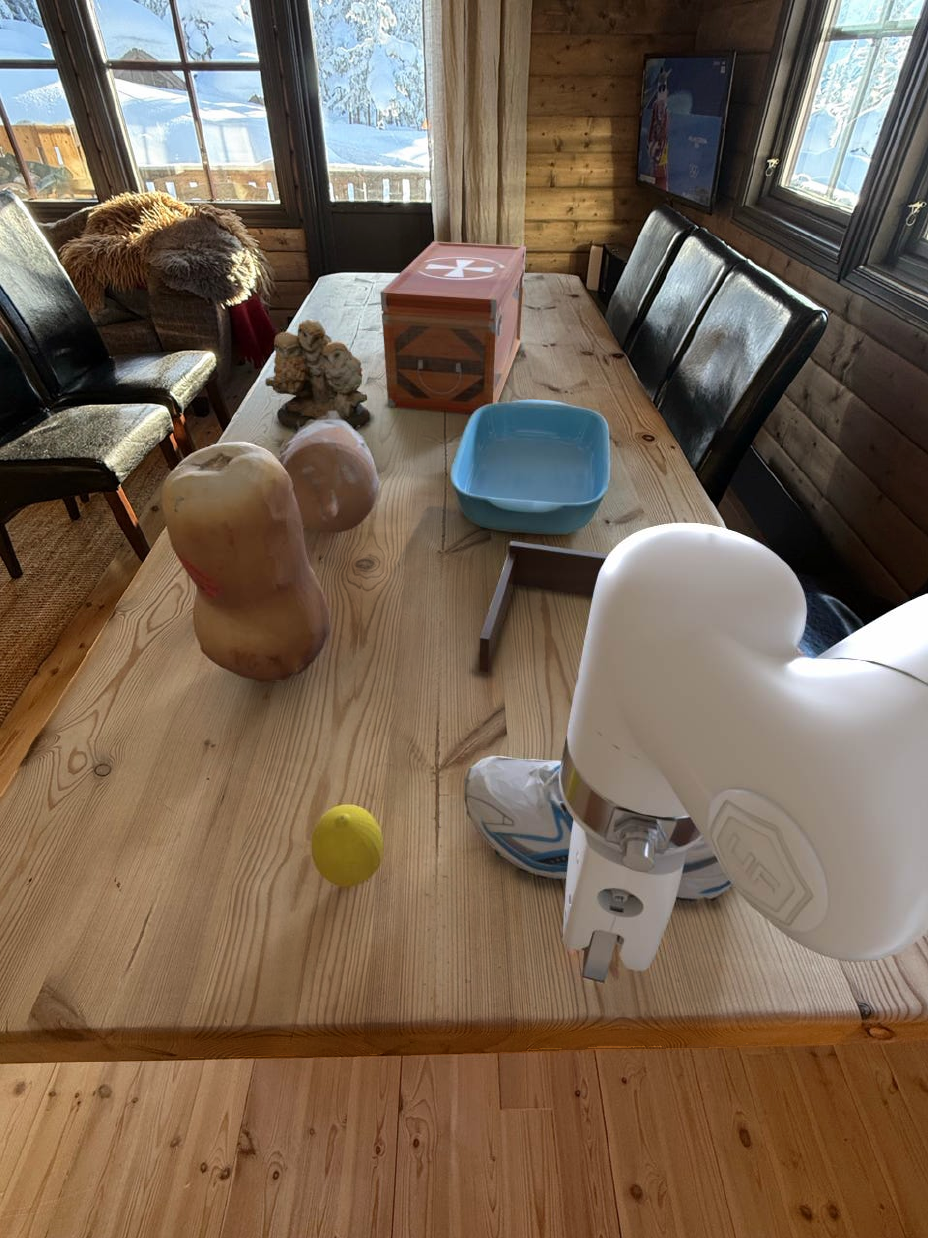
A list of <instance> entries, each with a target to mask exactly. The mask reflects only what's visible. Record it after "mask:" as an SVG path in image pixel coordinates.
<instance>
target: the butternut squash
mask: <svg viewBox="0 0 928 1238" xmlns="http://www.w3.org/2000/svg"><path fill="white" fill-rule="evenodd" d="M161 508H162V513H163V516H164V522H165V526H166V529H167V533H168V537H169V540H170V545H171V548H172V549H173V552H174V553H175V555H176V557H177V559H178V560H179V562H180V564H181V565H182V567H183V569H184V570H185V571H186V573H187V574H188V576H189V577H190V579H191V581H192V582H193V583H194V585H195V587H196V592H195V595H194V602H193V609H192V621H193V629H194V633H195V636H196V639H197V641H198V644H199V647H200V651H201V653H203V655H205V657H207V658H208V659H209V660H210V661H211V662H213V663H214V664H215V665H217V666H218V667H219V668H221V669H224V670H227V671H228V672H230V673H232V674H234V675H236V676H239V677H241V678H244V679H248V680H253V681H257V682H259V683H264V682H274V681H278V682H284V681H286V680H287V679H288V678H291V677H292V676H295V675H301V674H302V673H303V672H304V671H305V670H307V669H308V668H309V667H310V665H312V663H313V662H314V661H315V660H316V659H317V657H318V656H319V654H320V653H321V652H322V650H323V649H324V647H325V645H326V642H327V639H328V637H329V635H330V633H331V631H330V609H329V606H328V602H327V599H326V596H325V592H324V589H323V588H322V586H321V584H320V582H319V580H318V578H317V576H316V573H315V571H314V569H313V568H312V566H311V564H310V561H309V559H308V556H307V550H306V544H305V535H304V527H303V526H302V519H301V515H300V512H299V508H298V505H297V501H296V498H295V495H294V492H293V484H292V481H291V478H290V476H289V474H288V473H287V472H286V470H285V469H284V468H283V466H282V465H281V463H280V462H279V461H278V458H277V457H276V456H275V455H274V454H273V453H272V452H270V451H269V450H268V449H267V448H264V447H262V446H260V445H256V444H254V443H252V442H248V441H233V442H221V443H214V444H211V445H209V446H206V447H204V448H201V449H199V450H196V451H194V452H192V453H190V454H189V455H188V456H186V457H185V458H183V460H181V461H180V462H179V463H178V464H177V466H175V467H174V469H173V470H172V471H171V472H170V473H169V474H168V475H167V477H166V479H165V481H164V483H163V485H162V490H161Z"/></svg>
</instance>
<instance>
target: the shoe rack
mask: <svg viewBox="0 0 928 1238" xmlns="http://www.w3.org/2000/svg"><path fill="white" fill-rule="evenodd" d="M608 555H609V554H606V553H600V552H593V551H585V550H579V549H571V548H566V547H565V548H564V547H557V546H550V545H542V544H536V543H529V542H522V541H515V540H510V541H509V544H508V553H507V555H506V558H505V562H504V563H503V564H504V565H503V567H502V571H501V572H500V577H499V580H498V583H497V585H496V588H495V592H494V595H493V597H492V600H491V604H490V606H489V609H488V612H487V616H486V619H485V621H484V625H483V628H482V630H481V633H480V636H479V654H478V655H479V656H478V657H479V659H478V672H480V673H485V674H488V673H489V670H490V667H491V663H492V660H493V657H494V655H495V651H496V647H497V644H498V640H499V638H500V634H501V630H502V627H503V625H504V620H505V617H506V614H507V611H508V607H509V605H510V601H511V598H512V594H513V591H514V587H515V586H517V587H522V588H530V589H537V590H544V591H548V592H550V591H551V592H555V593H556V592H557V593H562V594H563V593H564V594H569V595H576V596H583V597H590V598H593V594H594V589H595V585H596V582H597V578H598V574H599V572H600V569H601V567H602V566H603V564H604V562H605V560H606V558H607V557H608Z"/></svg>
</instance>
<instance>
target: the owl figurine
mask: <svg viewBox="0 0 928 1238" xmlns="http://www.w3.org/2000/svg"><path fill="white" fill-rule="evenodd" d="M273 342H274V343H273V346H274V351H275V355H274V356H275V357H274V361H273V363H274V366H273V373H274V375H273V376H269V377H265V381H264V382H265V386H267V387H272V390H273V391H274V392H276V393H277V394H281V395H291V396H293V397H292V398H291V399H289V400H287V401H285V403H284V404H282V405H281V407H279V409H278V410H277V412H276V416H277V420H278V422H279V424H281V425H282V426H283V427H285V428H288V429H293V430H295V431H298V430H299V429H300V428H301V427H303V426H304V425H305V424H306V422H307V421H309V420H311V419H312V420H316V419H318V418H319V417H321V416H324V415H326V414H327V412H328V411H337V412H338V414H339V416H340V418H341V419H343V420H344V421H346V422H347V423H348V424H349V425H350V426H352V428H353V429H354V430H356V429H358V427H359V428H363V427H365V426H366V425H367V424H368V423H369V422H370V420H371V413H370V411H369V410H368V408H366V407H364V405H362V403H365V402H366V401H367V400H368V395H367V394H366V393H365V392H361V391H359V390H358V389H359V388H360V387H361V385H362V383H363V373H362V372H363V368H362V367H361V366H362V362H361V361H360V359H358V358H357V357H355V356H354V355H353V354H352V352H351V350H349V348H348V347H347V346H346V344H344V343H343V342H342V341H333V340H332V337H331V336H330V335H328V334H326V330H325V328H324V326H323V325H322V324H320V322H319V321H317V320H315V319H312V318H308V319H305V320H303V321H301V322H300V323H299V325H298V327H297V334H295V333H292V332H290V331H282V332H280V333H278V334H276V335H275V337H274V341H273Z"/></svg>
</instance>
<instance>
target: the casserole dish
mask: <svg viewBox="0 0 928 1238" xmlns="http://www.w3.org/2000/svg"><path fill="white" fill-rule="evenodd" d="M609 429H610V428H609V425H608V422H607V419H605V417H604V416H603V415H602V414H600V413H599V412H597V411H595V410H593V409H589V408H586V407H580V406H574V405H571V404H567V403H565V402H560V401H556V400H550V399H549V400H548V399H547V400H546V399H517V400H514V401H505V402H503V401H502V402H498V403H492V404H488V405H485V406H482V407H480V408H479V409H477V410H476V411H475V412H474V413H473V414H471V415H470V417H469V418H468V421H467V422H466V425H465V427H464V429H463V432H462V436H461V438H460V441H459V444H458V447H457V450H456V453H455V456H454V460H453V461H452V462H453V463H452V465H451V471H450V481H451V485H452V487H453V490H454V493H455V496H456V499H457V502H458V505H459V506H460V510H461V511H462V513H463V515H464V516H465V517H466V518H467V519H468V520H469V521H470V522H471V523H473V524H475V525H477V526H479V527H480V528H483V529H488V530H493V531H500V532H507V533H519V534H521V533H525V534H533V535H534V534H535V535H547V536H561V535H563V536H564V535H569V534H572V533H575V532H578V531H579V530H582V528H584V527H585V526H587V525H588V524H589V523H590V522H591V520H592V519H593V518H594V516H595V514H596V513H597V511H598V509H599V507H600V505H601V504H602V501H603V500H604V497H605V495H606V493H607V492H608V489H609V485H610V477H611V476H610V475H611V457H610V449H611V448H610V430H609Z"/></svg>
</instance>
